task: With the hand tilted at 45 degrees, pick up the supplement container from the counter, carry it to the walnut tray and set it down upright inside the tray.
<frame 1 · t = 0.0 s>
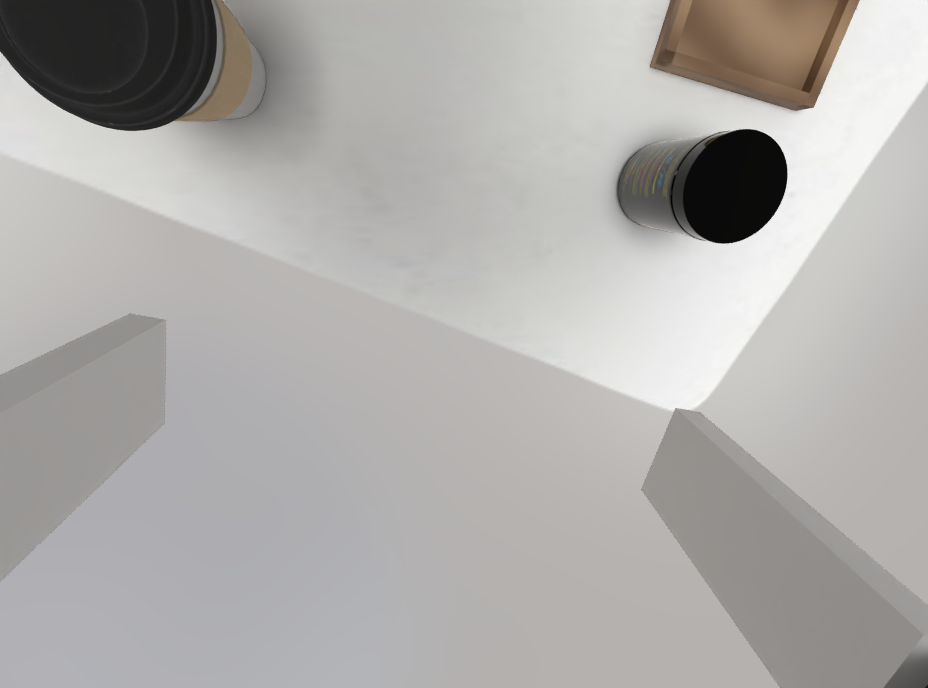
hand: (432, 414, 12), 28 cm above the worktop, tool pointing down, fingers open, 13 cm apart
coffee cup: (224, 75, 33), on the worktop
supplement container: (653, 185, 38), on the worktop
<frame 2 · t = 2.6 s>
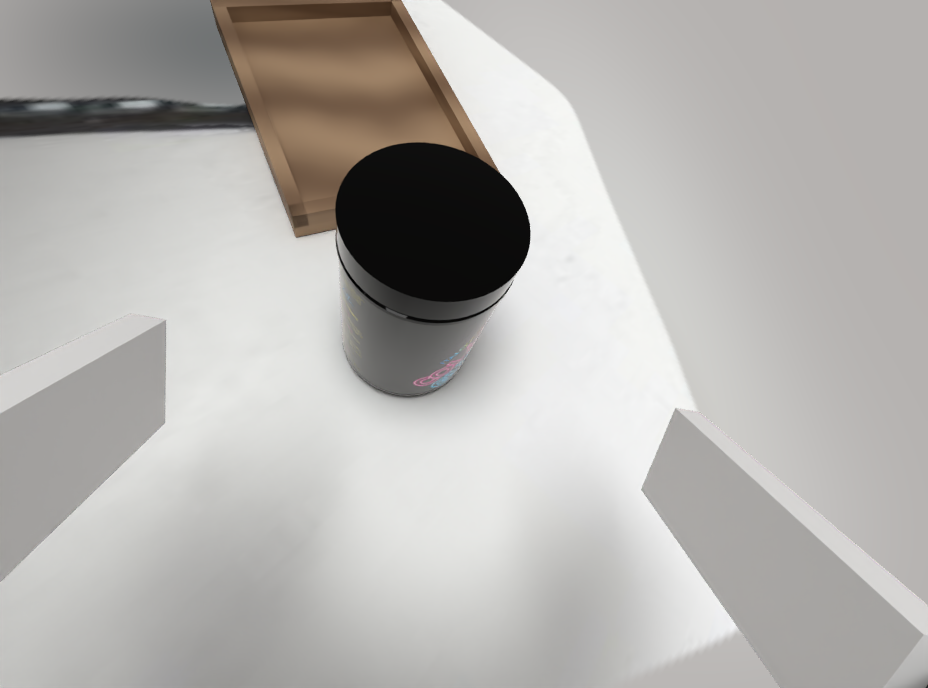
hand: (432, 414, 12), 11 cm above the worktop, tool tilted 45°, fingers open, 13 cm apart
tray: (353, 110, 31), on the worktop
supplement container: (405, 342, 25), on the worktop
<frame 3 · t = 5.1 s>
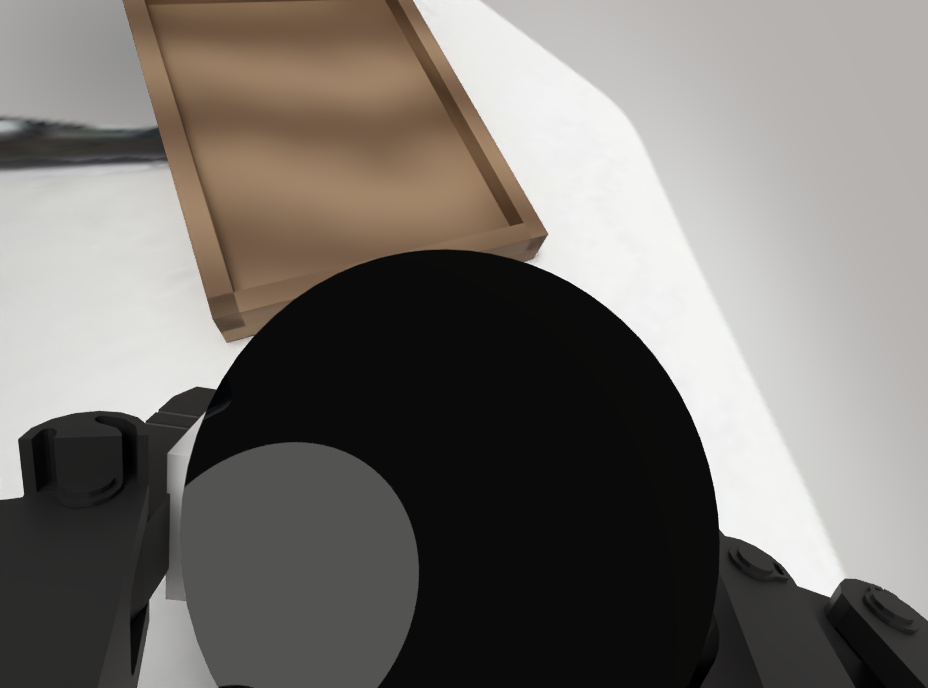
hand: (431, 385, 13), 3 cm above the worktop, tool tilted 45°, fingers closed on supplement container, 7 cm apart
tray: (328, 133, 21), on the worktop
supplement container: (401, 521, 15), on the worktop, touching gripper
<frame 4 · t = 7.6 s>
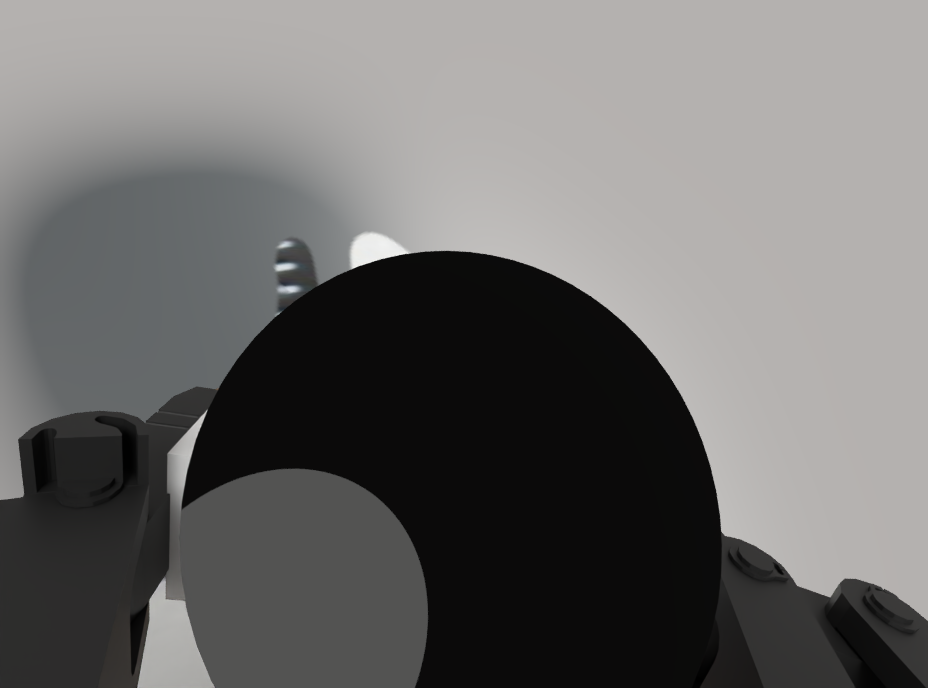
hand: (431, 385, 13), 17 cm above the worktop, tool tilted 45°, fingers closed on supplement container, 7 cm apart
supplement container: (401, 522, 15), point 14 cm above the worktop, touching gripper
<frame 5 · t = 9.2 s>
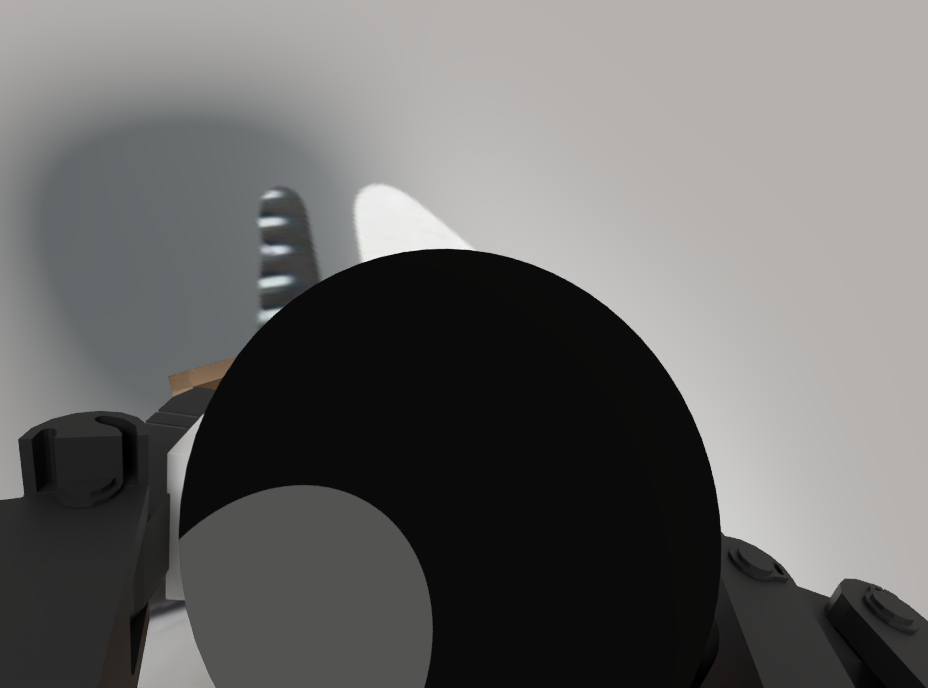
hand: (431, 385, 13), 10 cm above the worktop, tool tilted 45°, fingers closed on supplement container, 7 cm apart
tray: (379, 516, 21), on the worktop
supplement container: (401, 521, 15), point 7 cm above the worktop, touching gripper
when the fingers open (6 cm above the worktop, at t = 10.4 s): supplement container drops 2 cm, resting on tray.
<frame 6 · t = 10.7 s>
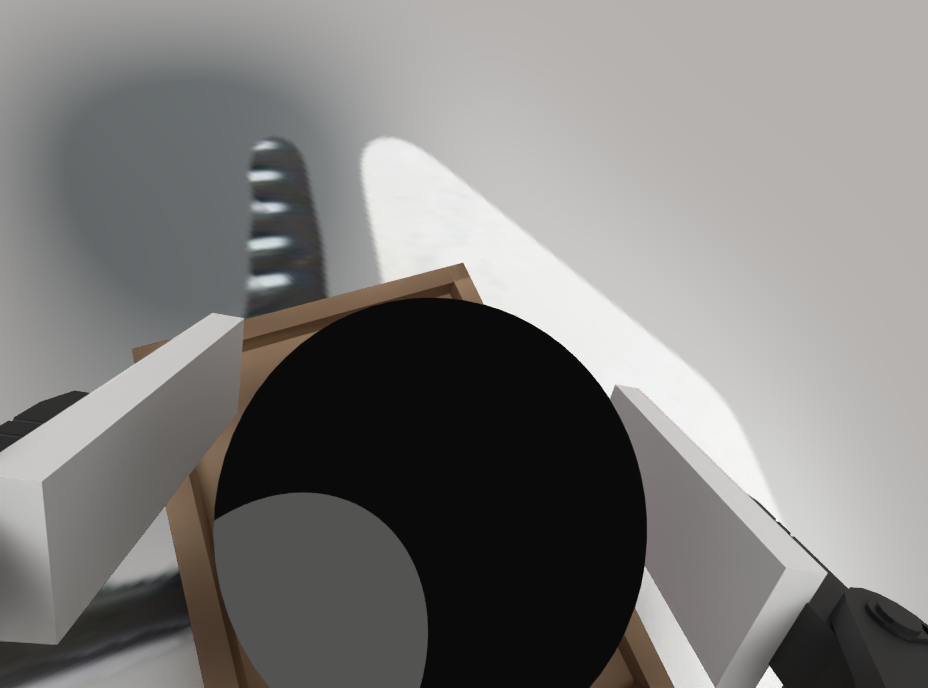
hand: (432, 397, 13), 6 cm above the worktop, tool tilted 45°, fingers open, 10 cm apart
tray: (395, 524, 17), on the worktop
supplement container: (394, 524, 16), point 1 cm above the worktop, touching tray
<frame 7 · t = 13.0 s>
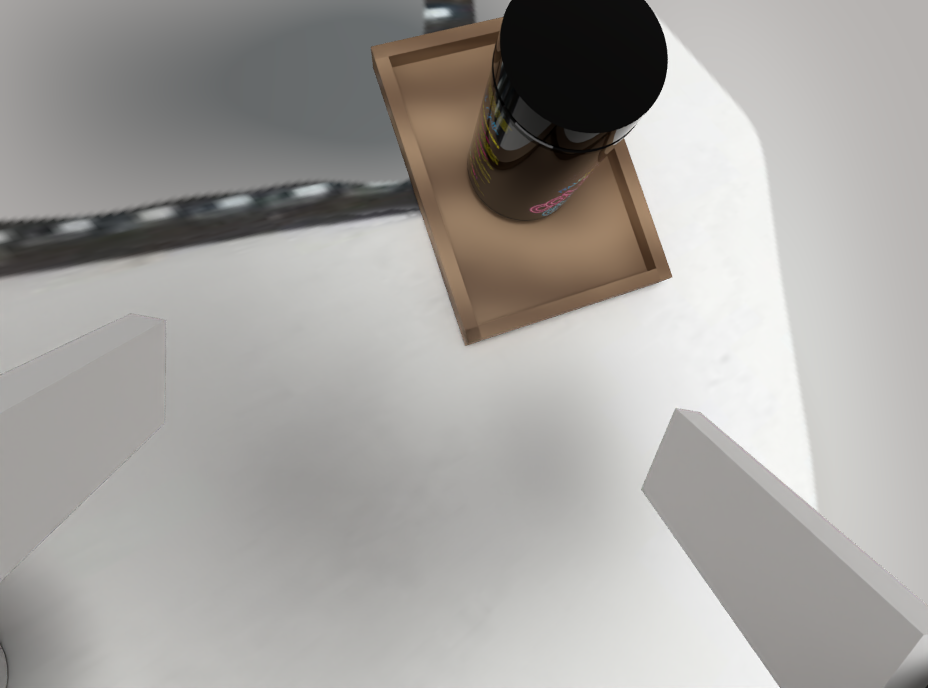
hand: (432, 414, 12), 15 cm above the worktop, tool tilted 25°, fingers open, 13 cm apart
tray: (517, 177, 28), on the worktop
supplement container: (518, 173, 28), point 1 cm above the worktop, touching tray
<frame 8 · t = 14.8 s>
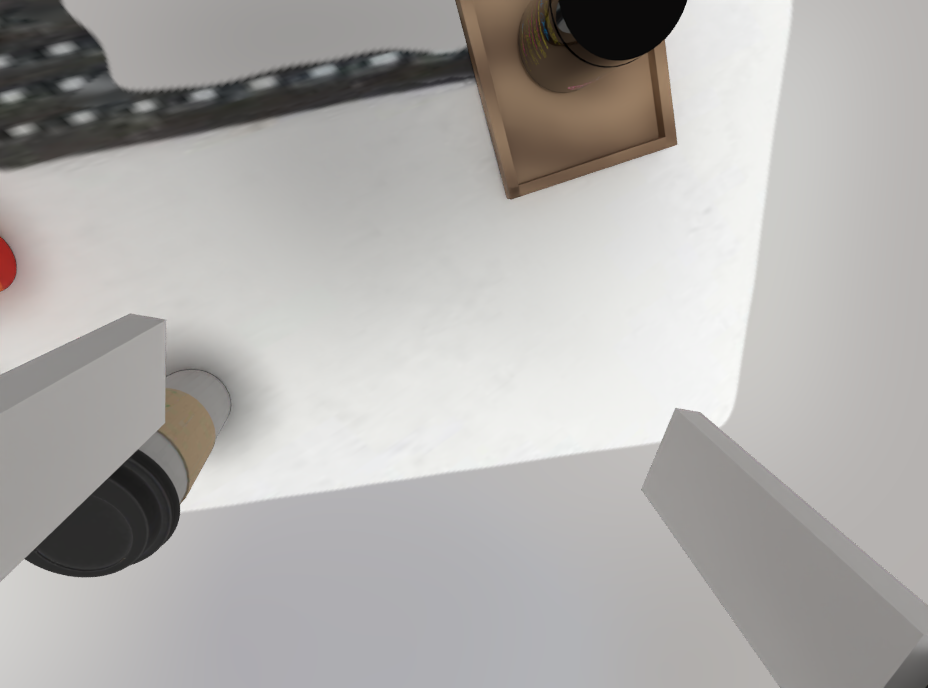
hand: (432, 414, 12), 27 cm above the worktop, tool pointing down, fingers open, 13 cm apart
coffee cup: (197, 399, 40), on the worktop
tray: (560, 43, 32), on the worktop
supplement container: (562, 41, 32), point 1 cm above the worktop, touching tray
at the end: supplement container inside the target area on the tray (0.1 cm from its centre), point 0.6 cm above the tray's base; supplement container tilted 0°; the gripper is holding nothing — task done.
